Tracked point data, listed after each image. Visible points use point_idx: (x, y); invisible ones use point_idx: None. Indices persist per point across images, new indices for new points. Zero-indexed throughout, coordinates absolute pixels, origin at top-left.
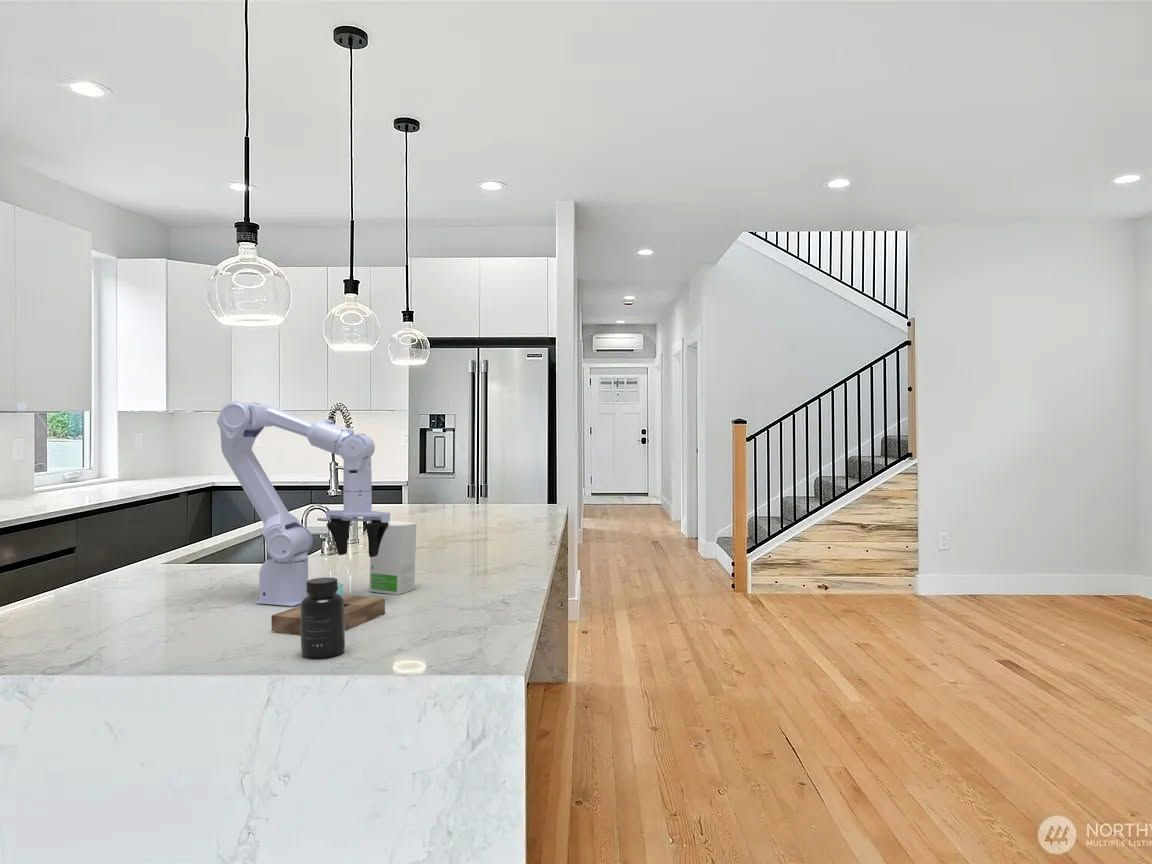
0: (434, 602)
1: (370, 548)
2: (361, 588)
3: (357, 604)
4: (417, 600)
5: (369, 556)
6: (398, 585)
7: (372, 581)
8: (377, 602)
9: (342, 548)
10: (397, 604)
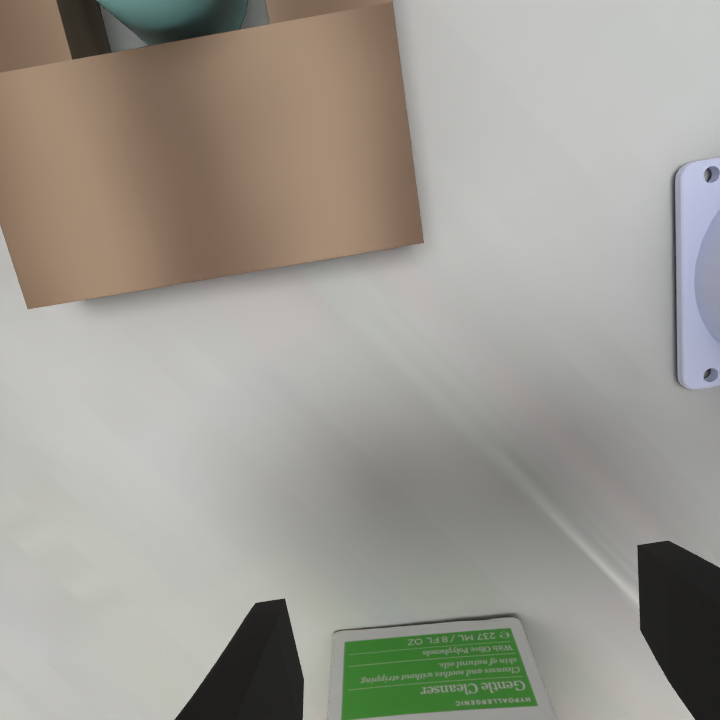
0: (57, 594)
1: (232, 658)
2: (620, 660)
3: (36, 80)
4: (165, 590)
5: (284, 601)
6: (333, 672)
7: (513, 662)
8: (3, 221)
9: (680, 621)
10: (188, 485)
